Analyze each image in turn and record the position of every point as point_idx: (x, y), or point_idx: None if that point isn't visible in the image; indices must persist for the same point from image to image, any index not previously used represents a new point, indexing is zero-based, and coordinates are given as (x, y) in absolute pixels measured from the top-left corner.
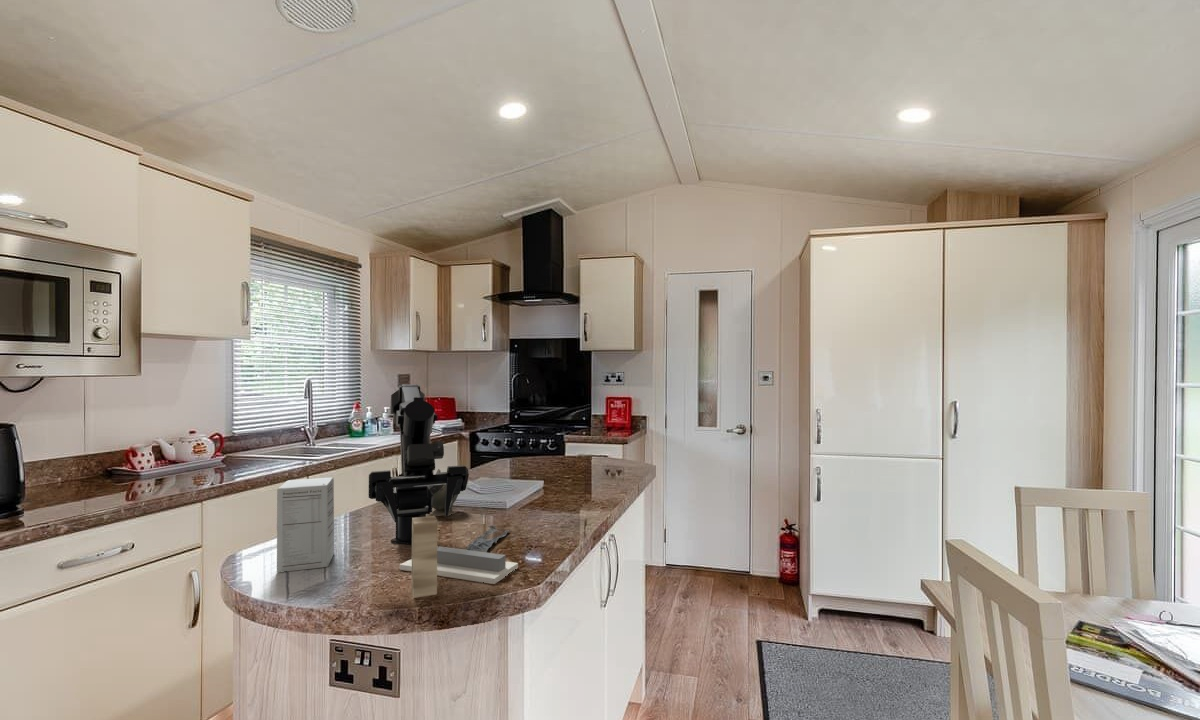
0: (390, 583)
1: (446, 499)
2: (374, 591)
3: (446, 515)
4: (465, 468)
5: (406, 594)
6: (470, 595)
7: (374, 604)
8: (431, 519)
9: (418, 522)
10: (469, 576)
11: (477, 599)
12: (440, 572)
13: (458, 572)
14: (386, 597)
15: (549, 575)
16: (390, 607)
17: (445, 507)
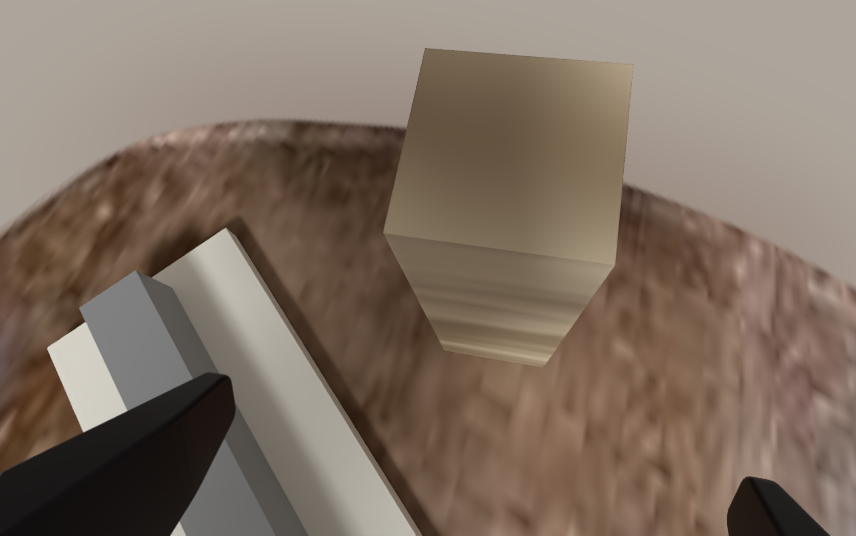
0: (621, 516)
1: (84, 475)
2: (706, 449)
3: (230, 379)
4: None
5: (573, 327)
6: (356, 184)
7: (714, 294)
8: (455, 113)
9: (588, 72)
10: (288, 327)
11: (350, 141)
12: (375, 467)
13: (312, 386)
14: (659, 342)
15: (33, 209)
16: (654, 231)
17: (175, 439)
